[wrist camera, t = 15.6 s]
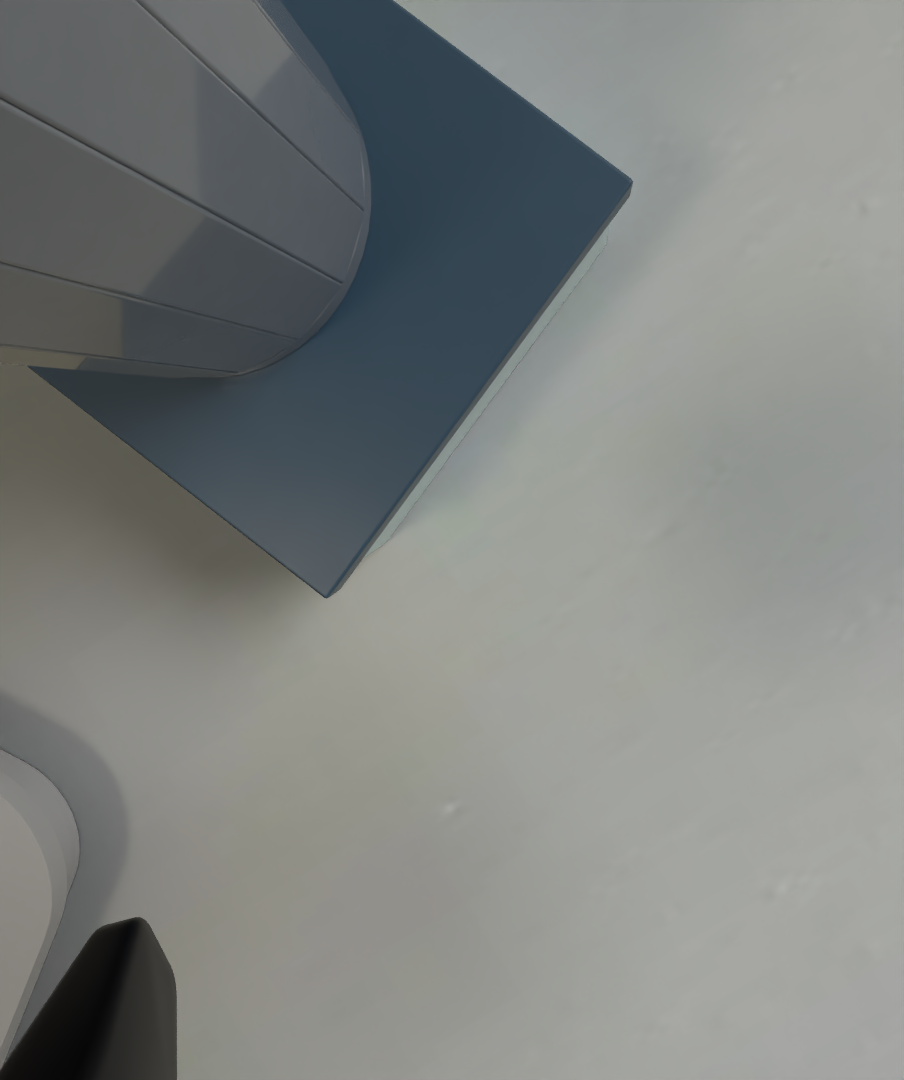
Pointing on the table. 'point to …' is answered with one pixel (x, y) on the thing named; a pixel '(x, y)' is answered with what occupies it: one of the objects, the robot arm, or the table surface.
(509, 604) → the table surface
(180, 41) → the cup
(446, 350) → the container
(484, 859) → the table surface
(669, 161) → the table surface
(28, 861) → the grey flat slab
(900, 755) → the table surface
